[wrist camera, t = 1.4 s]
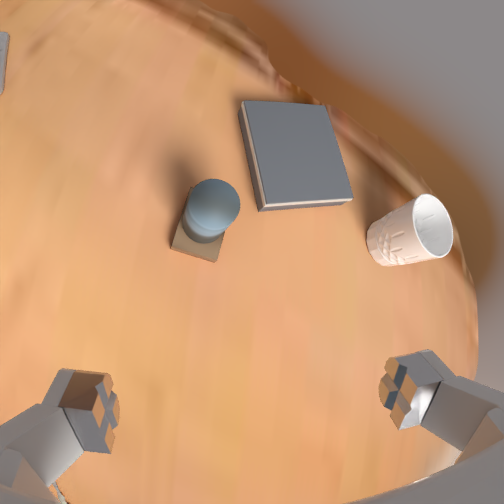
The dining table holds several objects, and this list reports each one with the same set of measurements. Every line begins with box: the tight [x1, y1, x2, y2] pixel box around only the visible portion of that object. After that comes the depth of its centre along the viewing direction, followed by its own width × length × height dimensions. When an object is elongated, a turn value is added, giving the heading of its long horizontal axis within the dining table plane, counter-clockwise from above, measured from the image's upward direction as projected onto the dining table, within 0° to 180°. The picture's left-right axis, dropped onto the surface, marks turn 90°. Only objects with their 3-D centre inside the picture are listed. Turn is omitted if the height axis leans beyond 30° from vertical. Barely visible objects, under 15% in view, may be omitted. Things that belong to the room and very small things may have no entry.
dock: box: [238, 100, 354, 212], centre depth 40 cm, size 14×12×3 cm
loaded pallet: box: [171, 179, 240, 263], centre depth 32 cm, size 7×5×8 cm
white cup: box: [366, 194, 453, 266], centre depth 39 cm, size 8×8×10 cm
